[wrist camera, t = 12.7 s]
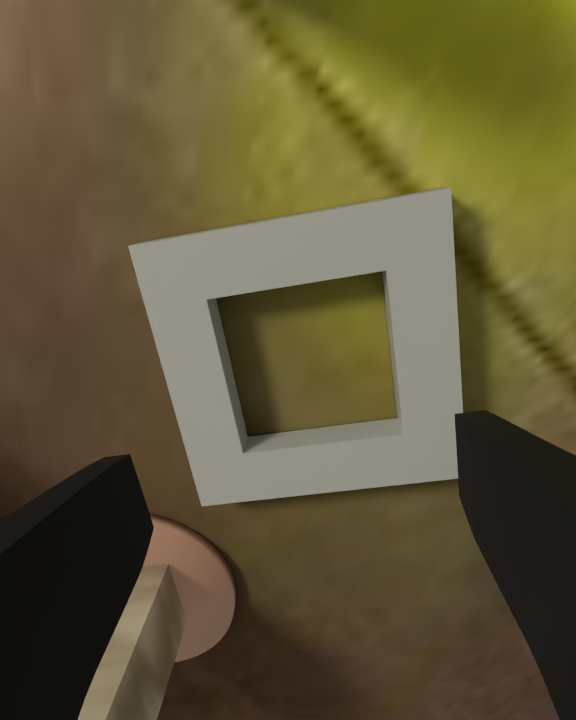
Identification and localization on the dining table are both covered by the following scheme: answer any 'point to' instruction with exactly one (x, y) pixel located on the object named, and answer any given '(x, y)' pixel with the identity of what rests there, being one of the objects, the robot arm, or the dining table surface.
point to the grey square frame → (294, 267)
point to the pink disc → (195, 583)
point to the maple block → (139, 652)
